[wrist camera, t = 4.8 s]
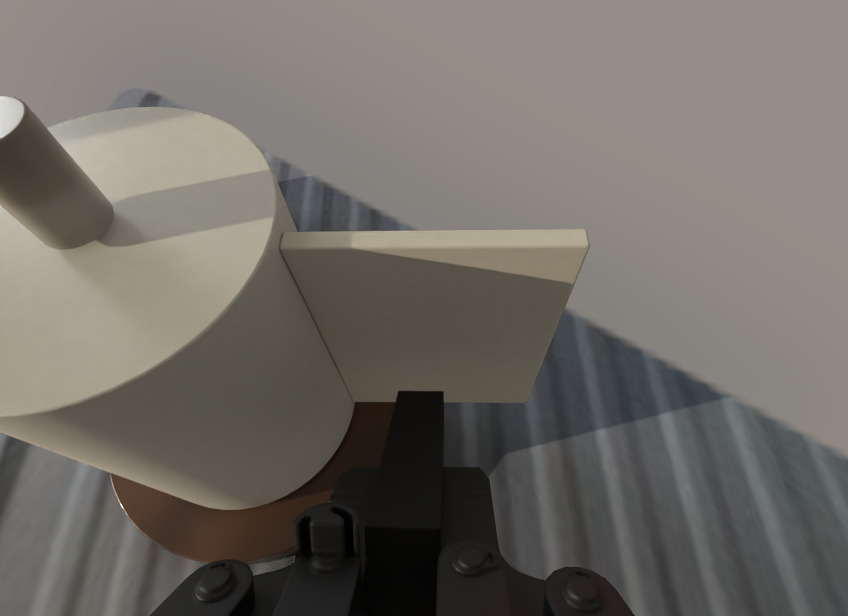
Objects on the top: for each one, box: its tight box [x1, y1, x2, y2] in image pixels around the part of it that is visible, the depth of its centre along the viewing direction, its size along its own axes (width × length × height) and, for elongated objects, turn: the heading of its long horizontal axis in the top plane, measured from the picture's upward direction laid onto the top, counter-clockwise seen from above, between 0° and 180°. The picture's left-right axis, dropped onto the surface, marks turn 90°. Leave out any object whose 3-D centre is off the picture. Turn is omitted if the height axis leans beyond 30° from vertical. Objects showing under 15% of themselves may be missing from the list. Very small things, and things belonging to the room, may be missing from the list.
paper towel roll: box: [0, 107, 590, 510], centre depth 17 cm, size 18×10×12 cm, turn 72°
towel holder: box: [0, 96, 395, 565], centre depth 17 cm, size 14×14×18 cm
